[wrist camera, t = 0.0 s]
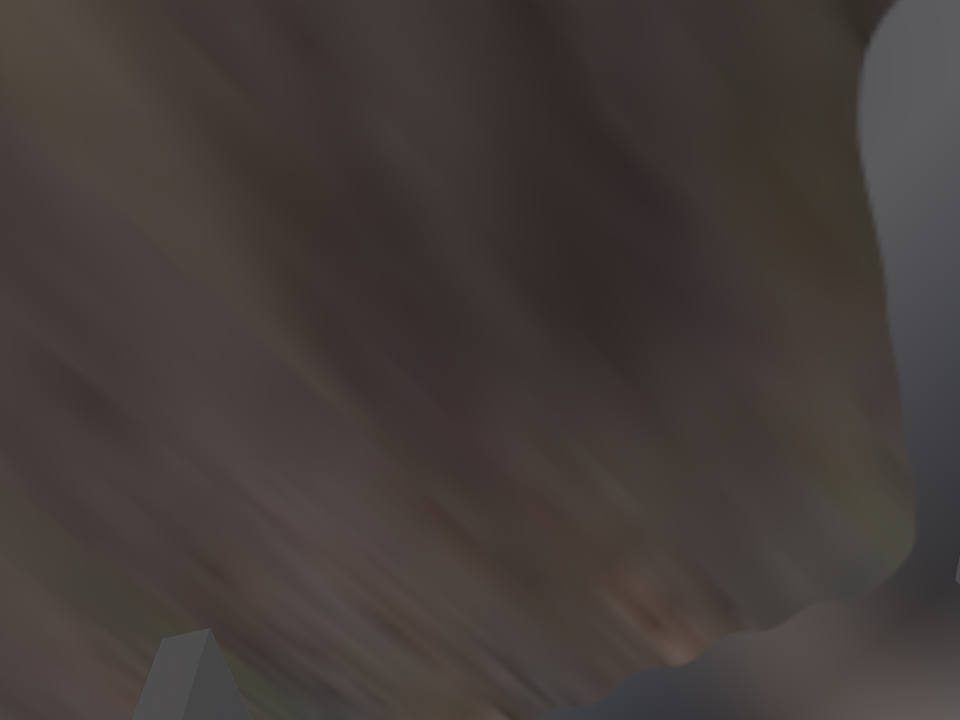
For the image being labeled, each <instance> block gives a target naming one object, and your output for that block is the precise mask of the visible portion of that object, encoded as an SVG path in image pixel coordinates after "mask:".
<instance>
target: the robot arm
mask: <svg viewBox="0 0 960 720" xmlns="http://www.w3.org/2000/svg"><path fill="white" fill-rule="evenodd" d="M956 581H957V582H958V583H959V584H960V558H959V563H958V569H957V574H956ZM132 720H252V718H251V716H250V714H249V711H248V709H247V707H246V705H245V703H244V701H243V699H242V696H241V694H240V692H239V690H238V688H237V686H236V684H235V681H234V679H233V677H232V675H231V673H230V671H229V669H228V666H227V664H226V662H225V660H224V658H223V656H222V653H221V651H220V649H219V647H218V645H217V643H216V641H215V638H214V636H213V634H212V632H211V630H210V628H209V629H205V630H200V631H196V632H191V633H187V634H182V635H178V636H173V637H169V638H164V639H162V642H161V644H160V647H159V649H158V652H157V655H156V657H155V660H154V663H153V665H152V668H151V670H150V673H149V676H148V678H147V681H146V684H145V686H144V689H143V691H142V694H141V697H140V699H139V702H138V705H137V707H136V710H135V712H134V715H133V718H132Z"/></svg>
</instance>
